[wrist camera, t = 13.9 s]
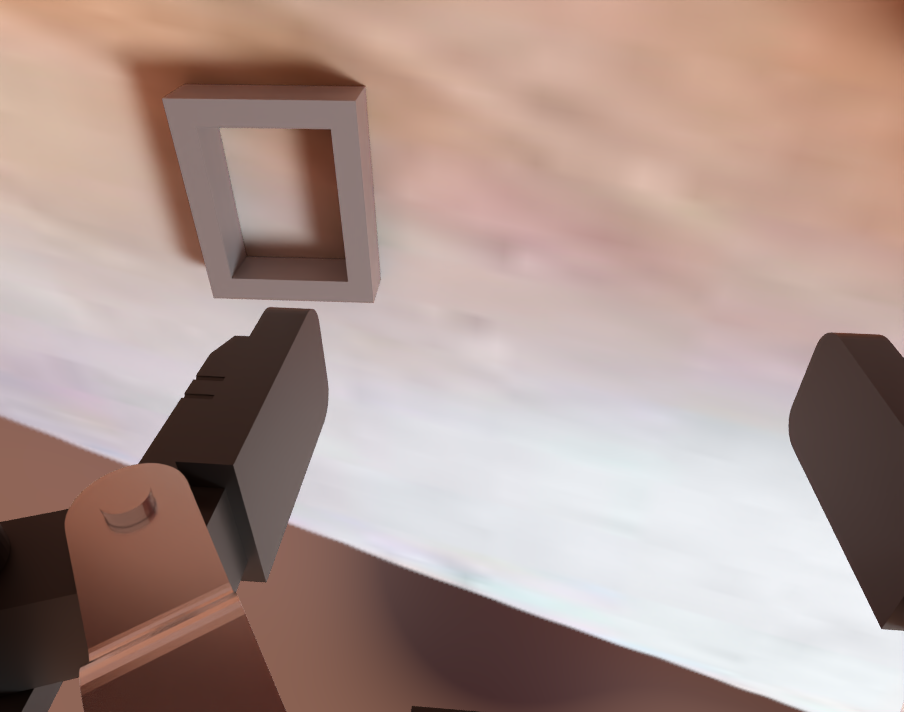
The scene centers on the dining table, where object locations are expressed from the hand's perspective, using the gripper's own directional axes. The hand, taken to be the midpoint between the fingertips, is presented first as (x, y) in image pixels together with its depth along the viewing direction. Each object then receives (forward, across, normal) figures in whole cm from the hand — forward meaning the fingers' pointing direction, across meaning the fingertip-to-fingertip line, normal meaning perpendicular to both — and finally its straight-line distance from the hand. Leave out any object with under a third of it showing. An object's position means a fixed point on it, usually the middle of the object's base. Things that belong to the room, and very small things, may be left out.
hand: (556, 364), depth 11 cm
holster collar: (+29, +14, +9) cm, 34 cm away
